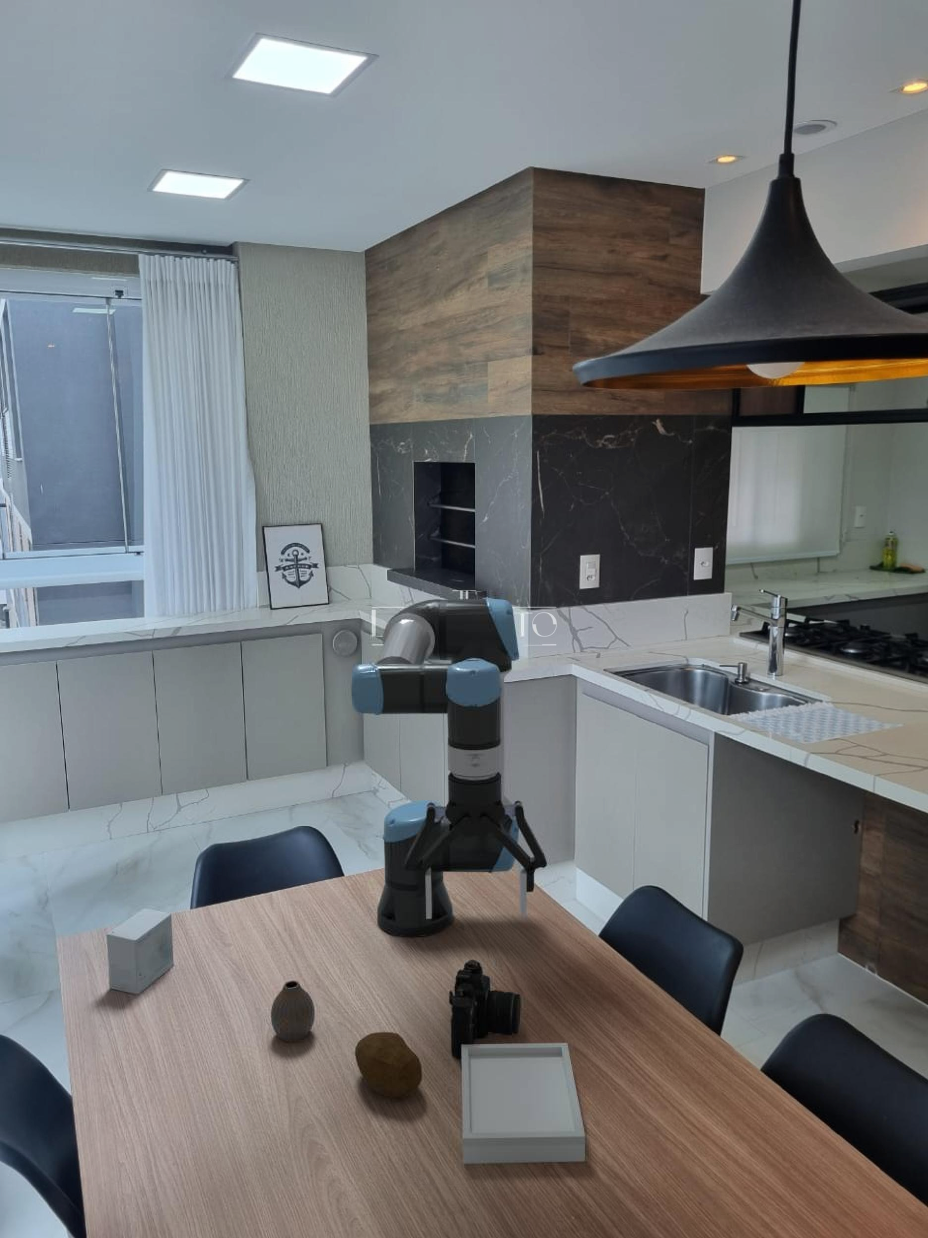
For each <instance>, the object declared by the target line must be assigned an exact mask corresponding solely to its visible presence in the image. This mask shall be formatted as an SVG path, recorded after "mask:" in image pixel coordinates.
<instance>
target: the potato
mask: <svg viewBox="0 0 928 1238" xmlns="http://www.w3.org/2000/svg"><path fill="white" fill-rule="evenodd" d="M354 1056H355V1057H354V1058H355V1061H356V1065H357V1068H358V1071H359V1072H360V1075H361V1076H362V1078H363V1079H364V1081H365V1083H366V1085H368V1086H369V1087H371V1088H372V1089H373V1090H375V1091H376V1092H378V1093H380V1094H381V1095H384V1096H386V1097H388V1098H394V1099H395V1098H396V1099H397V1098H400V1099H401V1098H405V1097H409V1096H411V1095H412V1094H413V1093H415V1092H416V1091H417V1090H418V1088H419V1086H420V1085H421V1083H422V1080H423V1072H422V1071H423V1069H422V1063H421V1060H420V1058H419V1056H418V1055H417V1054H416V1053H415V1052H414V1051H413V1050H412V1049H411V1047H409V1045H408V1044H407V1043H406V1041H405V1040H404V1038H403V1037H402V1036H401V1035H400V1034H398V1033H396V1032H389V1031H380V1032H379V1031H378V1032H377V1031H376V1032H373V1033H369V1034H367V1035H365V1036H364V1037H362V1038H361V1039H360V1040H358V1042H357V1043H356V1046H355V1051H354Z"/></svg>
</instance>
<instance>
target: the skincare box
mask: <svg viewBox="0 0 928 1238" xmlns="http://www.w3.org/2000/svg"><path fill="white" fill-rule="evenodd" d="M172 923H173V922H172V913H171V912H164V911H159V910H154V909H150V908H142V909H141V910H139V911H138V912H137V913H135V914H134V915H132V916H131V917H129V918H128V919H126V920H125V921H123V922H122V923H121V924H119V925H118V926H116V927H115V928H113V929H112V930H111V931H109V932H108V933H106V943H107V960H108V982H109V983H108V986H109V989H111V990H116V991H120V992H124V993H128V994H134V995H139V994H141V993H142V992H143V991H144V990H145V989H146V988H148V987H150V986H151V984H153V983H154V982H155V981H156V980H158V979H159V978H160V977H161V976H163V975H164V974H165V973H167V972H168V971H169V970H170V969H171V968H172V967H174V966H175V964H174V963H175V962H174V945H173V941H174V940H173V925H172Z"/></svg>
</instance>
